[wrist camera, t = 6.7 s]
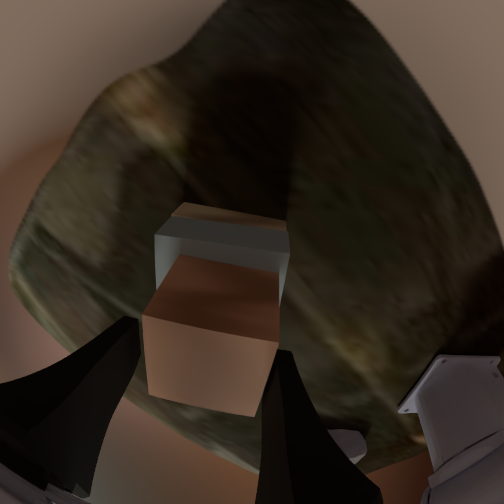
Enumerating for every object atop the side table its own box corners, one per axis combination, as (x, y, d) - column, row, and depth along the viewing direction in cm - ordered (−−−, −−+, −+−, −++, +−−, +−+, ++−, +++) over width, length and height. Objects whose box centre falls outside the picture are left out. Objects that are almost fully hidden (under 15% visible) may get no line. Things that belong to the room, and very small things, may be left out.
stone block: (366, 414, 28) (279, 425, 26) (380, 449, 24) (288, 467, 22) (331, 456, 33) (260, 464, 32) (339, 484, 29) (265, 496, 28)
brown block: (286, 219, 17) (287, 235, 15) (265, 303, 20) (264, 326, 18) (185, 200, 17) (171, 213, 15) (178, 285, 20) (167, 306, 18)
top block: (288, 231, 15) (289, 253, 13) (270, 324, 18) (268, 353, 16) (172, 215, 15) (154, 234, 13) (172, 309, 18) (160, 335, 16)
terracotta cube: (279, 273, 13) (279, 342, 9) (260, 346, 15) (254, 416, 11) (179, 254, 13) (142, 314, 9) (176, 329, 15) (149, 394, 11)
